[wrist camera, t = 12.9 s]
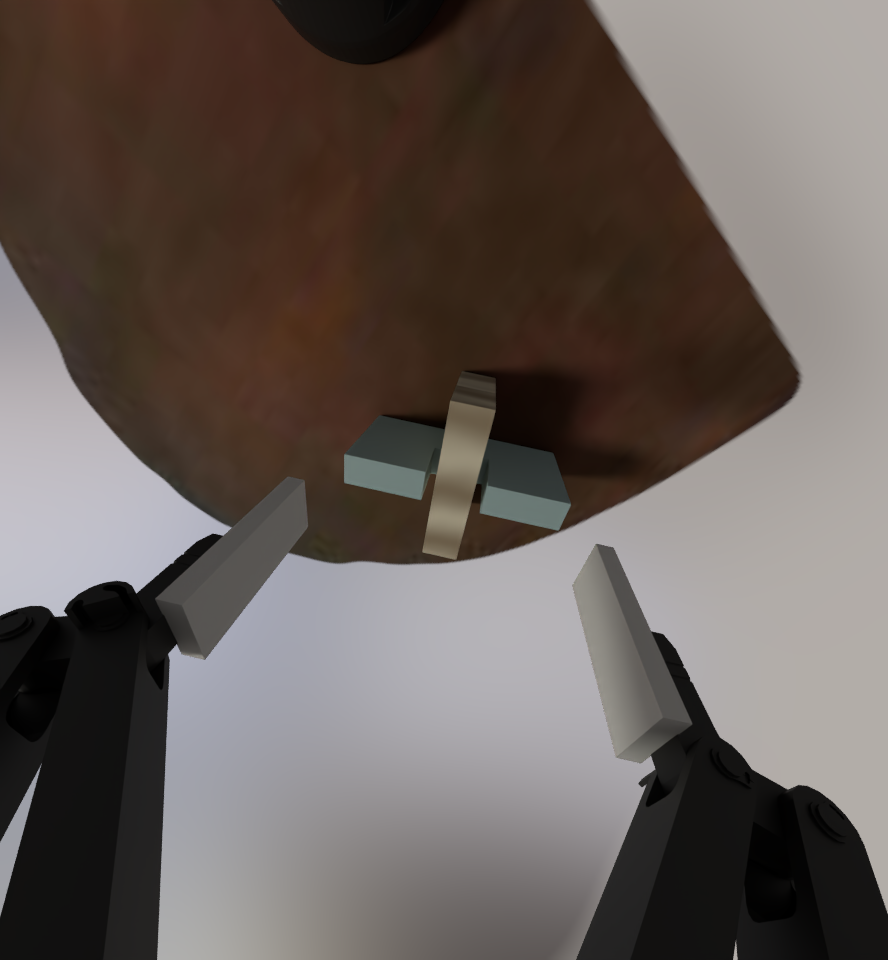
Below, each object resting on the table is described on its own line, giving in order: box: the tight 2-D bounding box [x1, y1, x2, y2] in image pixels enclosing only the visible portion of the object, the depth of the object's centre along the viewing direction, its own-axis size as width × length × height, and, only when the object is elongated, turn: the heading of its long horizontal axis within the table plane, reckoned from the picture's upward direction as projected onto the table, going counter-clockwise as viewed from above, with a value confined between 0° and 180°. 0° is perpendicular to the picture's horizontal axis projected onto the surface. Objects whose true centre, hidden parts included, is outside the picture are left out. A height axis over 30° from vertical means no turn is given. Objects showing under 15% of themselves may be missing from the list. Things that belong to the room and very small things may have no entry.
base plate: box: [344, 415, 571, 531], centre depth 33 cm, size 20×3×10 cm, turn 80°
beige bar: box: [423, 371, 496, 560], centre depth 33 cm, size 16×4×10 cm, turn 170°
